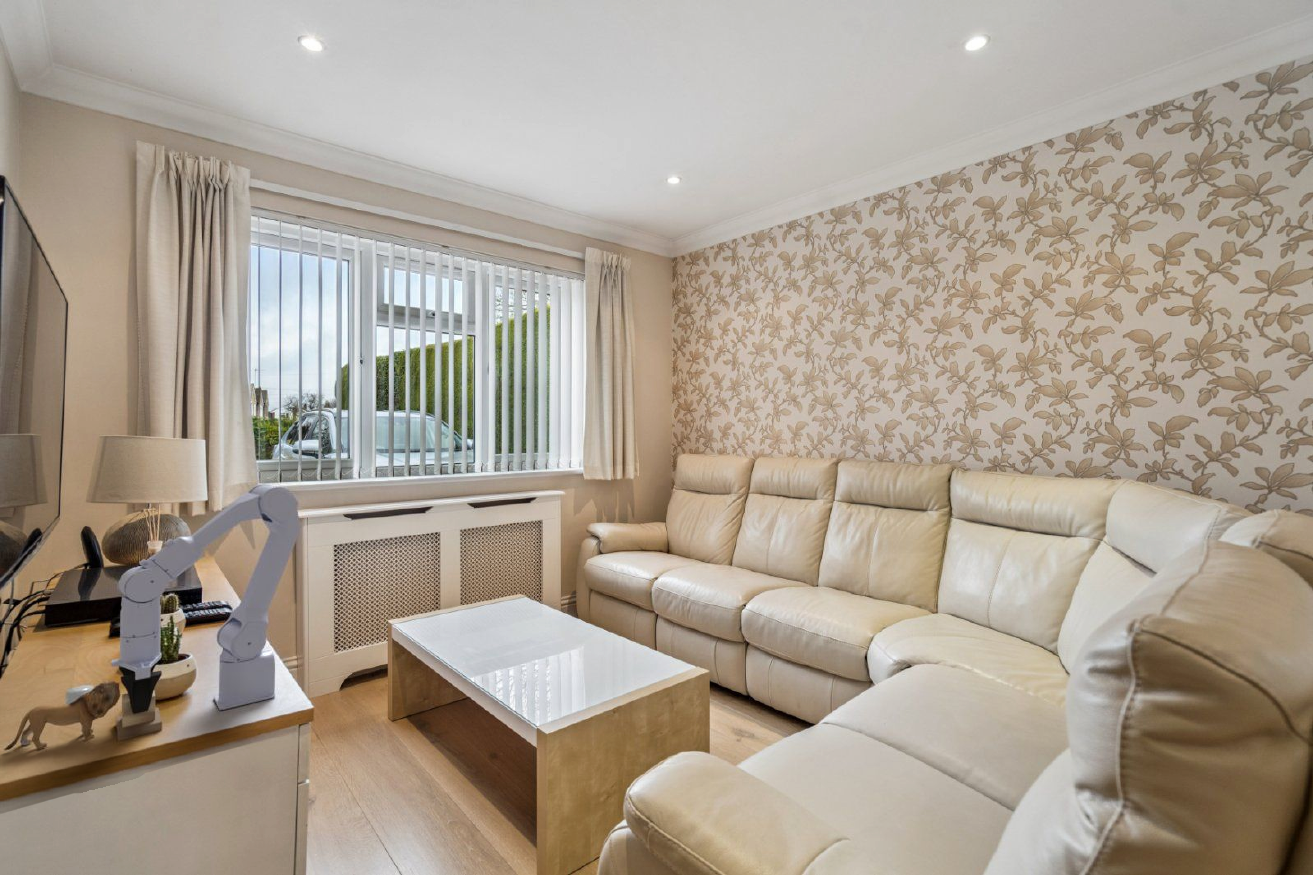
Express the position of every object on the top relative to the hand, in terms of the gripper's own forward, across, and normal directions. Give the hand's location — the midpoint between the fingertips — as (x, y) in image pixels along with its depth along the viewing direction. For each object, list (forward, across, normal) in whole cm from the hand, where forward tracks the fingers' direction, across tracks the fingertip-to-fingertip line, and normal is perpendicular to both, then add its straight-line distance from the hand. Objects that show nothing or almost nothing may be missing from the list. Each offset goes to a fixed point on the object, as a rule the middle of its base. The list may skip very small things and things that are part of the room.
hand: (139, 706), depth 112 cm
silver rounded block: (+4, -20, -8) cm, 22 cm away
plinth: (+4, 0, 0) cm, 4 cm away
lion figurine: (+4, -3, -9) cm, 11 cm away
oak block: (+2, 0, 0) cm, 2 cm away
